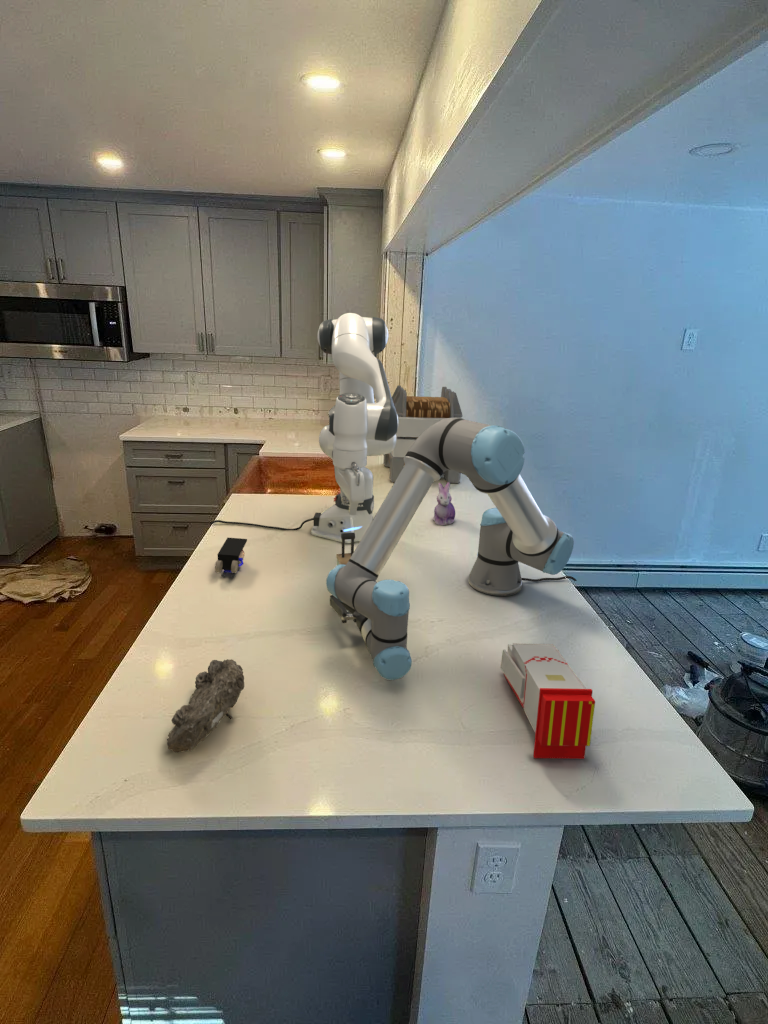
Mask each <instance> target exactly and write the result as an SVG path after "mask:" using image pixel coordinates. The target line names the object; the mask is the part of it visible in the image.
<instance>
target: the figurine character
mask: <svg viewBox="0 0 768 1024" xmlns="http://www.w3.org/2000/svg"><path fill="white" fill-rule="evenodd" d="M247 542H248V538H240V537H226V539H225V541H224V543H223V544H222V546H221V547H220V549H219V551H218V552H217V560H216V562H215V564H214V572H215V573H221V577H222V578H224V577H225V576H226V574H227V573H230V574H231V573H232V574H231V578H234V577H235V575H236V573H237V572H239V571H240V567H242V566H243V565H244V564H245V562H244V558H245V551H244V547H245V546H246V544H247Z"/></svg>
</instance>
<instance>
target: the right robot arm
mask: <svg viewBox="0 0 768 1024" xmlns="http://www.w3.org/2000/svg"><path fill="white" fill-rule="evenodd" d="M461 418H462V417H461ZM461 418H447V419H444V420H441V421H439V422H437V423H435V424H433V425H432V426H430V427H429V428H428V429H427V430H425V431H424V432H423V433H422V434H421V435H420V436H419V437H418V438H417V439H416V441H415V442H414V443H413V444H412V446H411V447H410V449H409V450H408V452H407V454H406V455H405V457H404V463H405V465H404V467H403V469H402V471H401V472H400V474H399V476H398V478H397V479H396V481H395V482H393V484H392V486H391V488H390V490H389V491H388V493H387V495H386V496H385V498H384V500H383V501H382V503H381V505H380V507H379V508H378V510H377V511H376V513H375V515H374V516H373V520H372V522H371V524H370V525H369V527H368V529H367V530H366V532H365V534H364V535H363V537H362V539H361V541H358V544H357V545H356V548H354V552H353V554H352V556H351V558H350V559H349V561H348V563H347V564H346V565H344V564H340V565H337V564H336V565H335V566H334V568H332V569H331V570H330V571H329V572H328V574H327V576H326V580H325V584H326V589H327V592H329V594H330V595H329V606H330V607H331V608H332V609H333V610H334V612H335V613H336V614H337V615H338V617H339V618H340V619H341V621H340V622H341V623H342V624H347V621H353V622H354V623H356V626H357V629H358V631H359V633H360V635H361V637H362V641H363V642H364V644H365V646H366V649H367V651H368V654H369V655H370V658H371V661H372V664H373V667H374V668H375V669H376V671H377V672H378V673H377V674H379V676H380V677H382V679H385V680H387V681H396V680H399V679H402V678H404V677H405V676H406V675H407V674H408V673H409V672H410V670H411V668H412V665H413V659H412V656H411V653H410V650H409V649H408V645H407V644H408V626H409V614H410V612H409V611H410V606H411V603H410V590H409V587H408V585H407V584H406V583H404V582H402V581H400V580H394V579H382V580H380V581H379V580H378V581H377V579H378V578H379V576H380V574H381V572H382V571H383V569H384V568H385V566H386V564H387V562H388V560H389V558H390V557H391V555H392V553H393V551H394V550H395V548H396V547H397V545H398V543H399V542H400V539H401V538H402V536H403V534H404V533H405V531H406V529H407V528H408V526H409V524H410V523H411V521H412V519H413V517H414V515H415V514H416V513H417V510H418V509H419V507H420V505H421V504H422V502H423V500H424V499H425V497H426V495H427V493H428V491H429V490H430V488H431V486H432V484H434V482H436V481H439V480H440V479H441V478H442V476H443V475H444V474H443V473H444V472H445V471H446V470H448V469H449V470H452V471H456V472H459V473H461V474H462V475H464V476H466V478H468V480H469V481H470V483H471V484H472V486H473V487H474V488H475V489H476V491H478V492H480V493H483V494H486V495H487V496H488V497H489V499H490V500H491V502H492V503H493V505H494V506H495V507H491V508H488V509H486V510H485V511H484V512H483V513H482V515H481V520H480V521H481V522H480V524H479V526H480V527H479V537H478V547H477V549H478V550H477V558H476V559H475V561H474V564H473V566H472V568H471V570H470V572H469V575H468V584H469V586H470V587H471V588H473V589H474V590H475V591H477V592H480V593H482V594H486V595H489V596H490V595H491V596H496V597H508V596H513V595H516V594H518V593H519V592H520V591H522V585H523V581H526V582H532V583H538V582H543V581H561V580H566V578H567V579H569V580H572V581H574V582H577V579H576V578H575V577H574V576H572V575H566V576H560V577H541V578H528V577H522V575H521V574H522V573H521V570H520V569H521V568H520V565H519V563H520V564H523V565H526V566H528V567H531V568H533V569H535V570H537V571H540V572H542V573H543V574H548V575H551V576H555V575H558V574H559V573H561V572H562V571H563V570H564V569H565V567H566V566H567V564H568V563H569V561H570V558H571V556H572V553H573V551H574V550H573V549H574V544H575V540H574V537H573V536H572V535H571V534H569V533H568V532H567V531H561V530H560V529H559V528H558V526H557V525H556V523H555V521H553V519H552V518H551V517H549V516H547V515H545V514H543V512H542V511H541V509H540V507H539V506H538V504H537V502H536V500H535V498H534V497H533V495H532V493H531V491H530V490H529V488H528V486H527V484H526V483H525V481H524V479H523V478H522V476H521V472H522V471H523V468H524V465H525V459H526V457H525V456H524V454H525V453H526V451H525V445H524V442H523V441H522V439H521V437H520V436H519V435H518V434H517V433H516V432H515V431H514V430H511V429H508V428H506V427H503V426H500V425H494V424H493V425H492V424H488V423H483V422H477V421H473V420H469V419H464V418H462V419H461ZM565 577H566V578H565Z"/></svg>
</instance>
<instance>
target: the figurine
mask: <svg viewBox="0 0 768 1024" xmlns="http://www.w3.org/2000/svg"><path fill="white" fill-rule="evenodd" d="M437 485H438V494H437V496H436V502H437V504H436V506H435V507H434V510H433V513H434V514H433V522H434V523H435V525H439V526H446V525H451V524H453V523H454V522H455V518H456V509H455V506H454V505H453V503H452V499H453V498H452V495H451V493H450V489H451V483H449V482H447V483H446V484H445V486H444V485H443V484H442V483H441V482H438V484H437Z"/></svg>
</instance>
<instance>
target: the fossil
mask: <svg viewBox="0 0 768 1024" xmlns="http://www.w3.org/2000/svg"><path fill="white" fill-rule="evenodd" d="M243 670H244V669H243V667H242V665H240V664H237V662H236V661H235V660H234V659H232V658H231V659H227V658H226V659H224V660H223V661H222V660H217V659H212V660H211V661H210V663H209V665H208V666H207V671H201V672H199V673H198V674H197V675H196V676H195V680H194V684H195V685H194V687H195V689H194V690H193V693H192V694H191V697H190V698H189V700H188V704H184V705H182V706H181V707H180V709H177V710H176V711H175V713H174V715H173V716H172V718H171V723H172V724H173V727H172V730H171V731H170V732H168V734H167V738H166V741H167V742H166V745H167V749H168V750H169V751H173V752H174V753H176V754H178V753H182V752H188V751H189V752H192V751H193V750H195V748H196V747H197V746H199V744H200V743H201V742H203V741H204V740H205V739H206V738H207V737H208V736H209V735H210V734H211V733H212V732H214V730H215V729H217V727H218V726H219V724H220V722H221V721H222V720H223V719H224V718H225V716H226V717H227V719H229V720H233V717H232V715H230V714H229V710H230V709H231V708H234V706H235V704H236V703H237V702H238V699H239V697H240V695H241V693H242V691H243V690H245V689H244V688H245V675H244V671H243Z"/></svg>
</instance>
